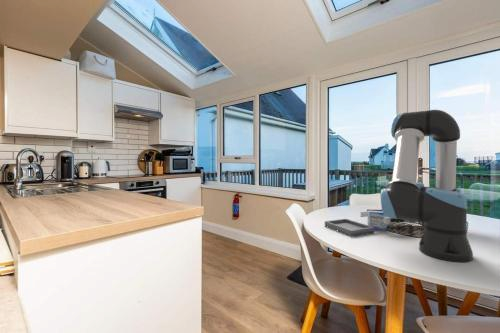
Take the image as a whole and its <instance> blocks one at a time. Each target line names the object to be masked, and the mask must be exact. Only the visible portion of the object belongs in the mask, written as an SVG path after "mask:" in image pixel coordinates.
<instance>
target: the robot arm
mask: <svg viewBox="0 0 500 333" xmlns="http://www.w3.org/2000/svg"><path fill="white" fill-rule="evenodd" d="M390 130H391V132H390V133H391V137H392V138H393V139H394V140H395V141H396V149H395V156H394V164H393V169H392V170H393V171H392V176H391V177H392V178H391V181H390V182H388V183H387V184H386V188H381V190H380V206H381V209H366V210H362V211H360V218H365V217H366V218H368V211H383V214H384V215H385V216H386V217H385V218H384V224H387V225H388V224H392V223H397V222H398V223H400V222H404V221H405V222H407V221H412V222H421V223H424V227H425V228H424V231H423V234H422V236H421V238H420V240H419V242H418V243H419V244H418V245H419V246H418V250H419V251H420V252H422V253H423V254H424V255H427V256H430V257H433V258H436V259H439V260H444V261H449V262H455V263H456V262H458V263H466V262H472V261H473V260H474V253H473V249H472V247H471V244H470V242H469V239H468V236H467V213H468V212H467V210H468V208H469V207H468V203H467V201H468V200H467V199H468V198H467V196H466V195H465V194H463V193H461V192H462V191H461V189H460V188H456V187H457V183H456V182H457V155H458V154H457V151H458V150H457V149H458V148H457V147H458V141H459V140H460V139H461V130H460V127H459V124H458V122H457V120H455V118H454V117H453V116H452V115H450V113H449V112H446V111H444V110H441V109H430V110H419V111H411V112H403V113H398V114H396V115H395V116H394V117H393V119H392V122H391V128H390ZM430 136H431V137H432V141H434V142H435V144H434V145H435V187H432V186H431V187H430V186H425V184H424V183H423V182H417V176H418V175H417V174H418V165H419V154H420V144H421V142H423V141H424V139H425V137H430ZM406 220H407V221H406ZM405 222H404V223H405Z"/></svg>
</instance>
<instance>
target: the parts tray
mask: <svg viewBox="0 0 500 333" xmlns="http://www.w3.org/2000/svg"><path fill="white" fill-rule="evenodd" d="M324 226H325V227H326V226H328V227H327V228H329V227H330V228H329V229H331V228H333V229H332V230H334V229H335V230H334V231H336V230H338V231H337V232H339V231H340V232H339V233H341V232H342V233H341V234H344V233H345V234H344V235H346V234H348V235H347V236H349V235H350V236H349V237H355V236H361V234H363V235H367V233H369V234H374V233H375V230H374V227H372V226H368V224H364V223H363V222H362V223H361V222H359V221H355V220H351V219H349V218H340V219H332V220H326V221H324ZM373 232H374V233H373Z"/></svg>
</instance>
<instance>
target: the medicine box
mask: <svg viewBox="0 0 500 333" xmlns="http://www.w3.org/2000/svg"><path fill="white" fill-rule="evenodd" d="M385 217H386V216H385V215H384V214H383V211H368V216H367V225H368V226H372V227H374V229H375V230H376V231H387V230H388V223H387V224H384V218H385ZM375 230H374V231H375Z"/></svg>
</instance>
